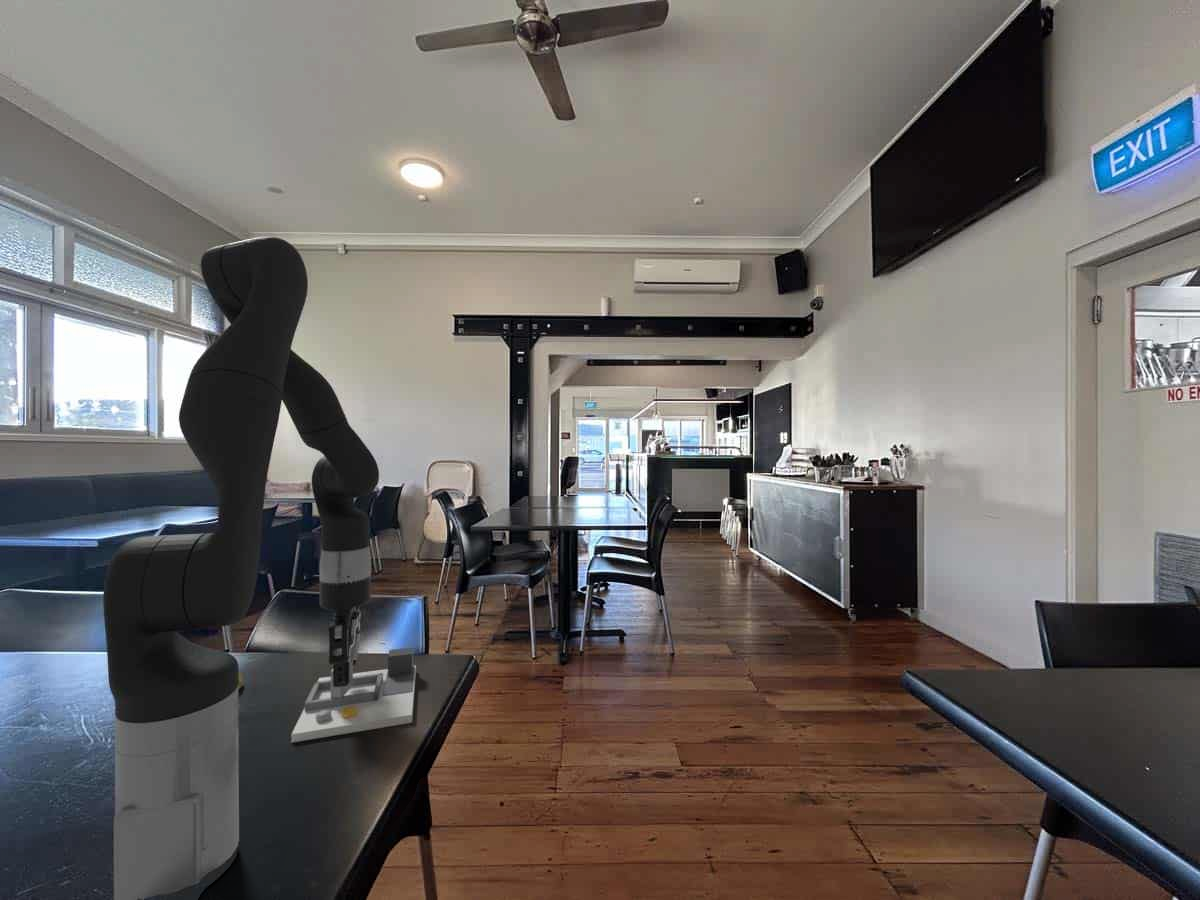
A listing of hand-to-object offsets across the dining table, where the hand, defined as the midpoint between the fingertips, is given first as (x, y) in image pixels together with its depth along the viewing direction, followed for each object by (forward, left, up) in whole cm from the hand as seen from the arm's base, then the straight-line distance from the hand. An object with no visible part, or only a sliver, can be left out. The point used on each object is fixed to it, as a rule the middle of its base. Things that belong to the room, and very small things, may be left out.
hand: (345, 674), depth 81 cm
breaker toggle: (+6, -8, -3) cm, 10 cm away
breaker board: (-1, -3, -4) cm, 5 cm away
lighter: (0, 0, -2) cm, 2 cm away
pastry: (+12, +22, -5) cm, 25 cm away
